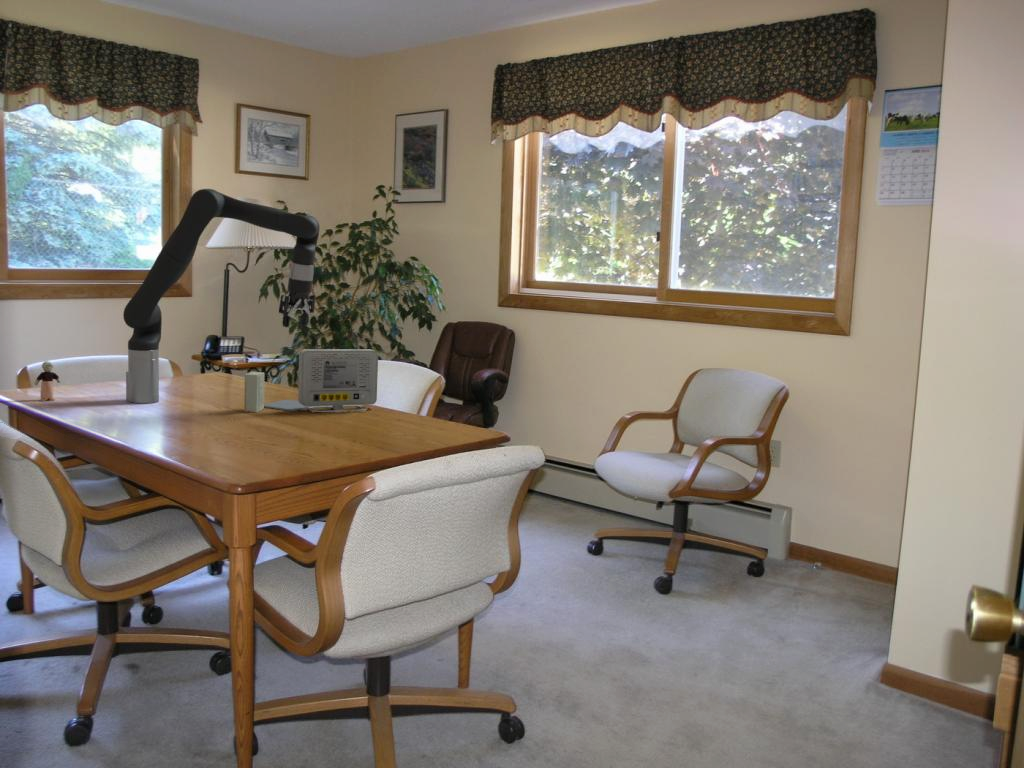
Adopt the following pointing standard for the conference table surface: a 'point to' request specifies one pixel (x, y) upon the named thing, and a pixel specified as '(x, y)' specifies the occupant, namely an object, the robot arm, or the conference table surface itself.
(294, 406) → the slate pad
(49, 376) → the grandmother figurine
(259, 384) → the skincare box
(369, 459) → the conference table surface
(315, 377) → the network device
